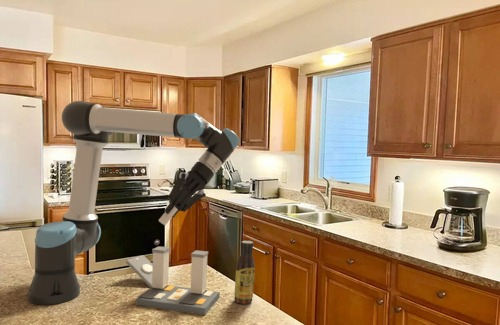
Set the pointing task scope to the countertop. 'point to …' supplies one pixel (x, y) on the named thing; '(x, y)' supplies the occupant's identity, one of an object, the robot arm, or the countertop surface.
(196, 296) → the console
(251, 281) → the sauce bottle
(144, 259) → the gray dial box
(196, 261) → the slider
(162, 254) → the slider
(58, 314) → the countertop surface
